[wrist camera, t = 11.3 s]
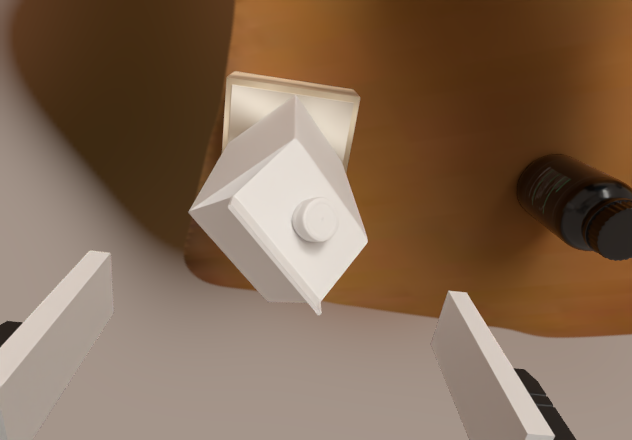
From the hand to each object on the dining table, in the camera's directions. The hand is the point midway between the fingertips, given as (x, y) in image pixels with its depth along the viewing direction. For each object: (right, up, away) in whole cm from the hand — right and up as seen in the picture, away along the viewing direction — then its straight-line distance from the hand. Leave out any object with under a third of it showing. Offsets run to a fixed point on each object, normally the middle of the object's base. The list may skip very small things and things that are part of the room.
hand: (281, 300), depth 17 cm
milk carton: (-1, +9, +20) cm, 22 cm away
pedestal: (-1, +11, +25) cm, 27 cm away
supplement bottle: (+26, +7, +28) cm, 39 cm away
